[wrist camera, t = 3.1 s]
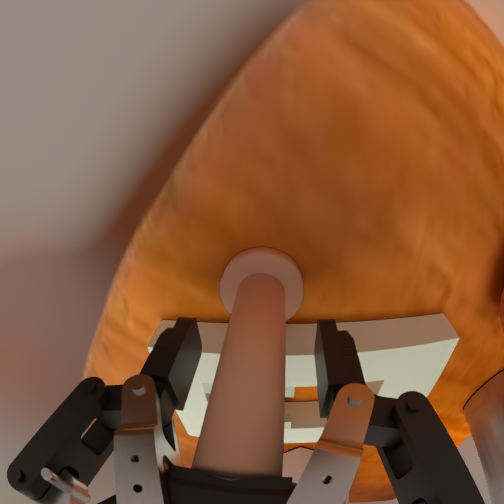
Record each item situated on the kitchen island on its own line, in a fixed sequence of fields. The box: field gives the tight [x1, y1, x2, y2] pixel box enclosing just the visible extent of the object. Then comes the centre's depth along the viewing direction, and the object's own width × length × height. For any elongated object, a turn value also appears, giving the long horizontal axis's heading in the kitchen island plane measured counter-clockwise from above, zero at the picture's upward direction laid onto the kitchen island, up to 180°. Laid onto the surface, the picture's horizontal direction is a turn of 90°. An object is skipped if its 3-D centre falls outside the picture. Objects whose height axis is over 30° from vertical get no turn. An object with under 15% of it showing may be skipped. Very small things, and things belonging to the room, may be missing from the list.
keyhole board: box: [147, 313, 459, 443], centre depth 18 cm, size 20×12×3 cm, turn 93°
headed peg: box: [191, 247, 304, 481], centre depth 11 cm, size 5×5×11 cm
